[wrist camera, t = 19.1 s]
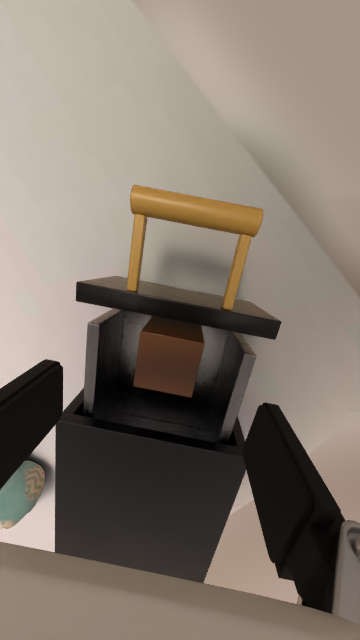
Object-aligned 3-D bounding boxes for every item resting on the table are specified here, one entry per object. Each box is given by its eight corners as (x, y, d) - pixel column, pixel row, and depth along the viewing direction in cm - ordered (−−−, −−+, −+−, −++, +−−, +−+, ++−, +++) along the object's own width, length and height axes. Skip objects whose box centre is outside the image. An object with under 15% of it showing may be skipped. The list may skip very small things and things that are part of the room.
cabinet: (105, 362, 21) (55, 419, 13) (229, 387, 21) (250, 458, 13) (96, 468, 25) (54, 557, 18) (198, 488, 25) (201, 587, 18)
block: (152, 314, 17) (140, 330, 13) (201, 324, 17) (204, 343, 13) (146, 358, 18) (132, 386, 14) (191, 367, 18) (191, 398, 14)
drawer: (122, 206, 16) (79, 170, 10) (270, 234, 16) (319, 215, 10) (104, 407, 22) (69, 462, 16) (213, 429, 22) (222, 493, 15)
